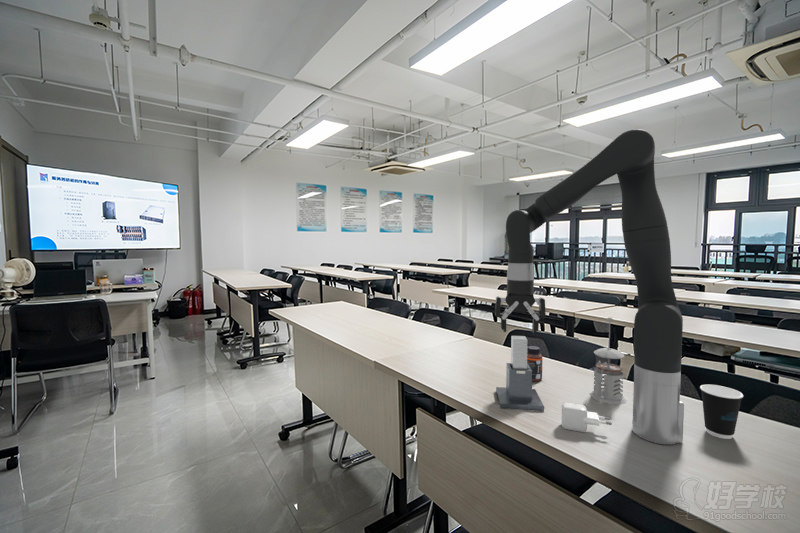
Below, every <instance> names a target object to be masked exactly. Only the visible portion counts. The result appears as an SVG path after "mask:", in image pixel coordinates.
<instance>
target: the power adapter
mask: <svg viewBox="0 0 800 533" xmlns="http://www.w3.org/2000/svg"><path fill="white" fill-rule="evenodd" d="M600 424H603V425H608V426H612V424H613V422H611V418H610V417H607V416H602V415H599V414H598V412H594V411H588V409H587V406H585V405H583V404H577V403H572V402H571V403H570V402H563V403H562V404H561V426H562V428H563V429H564V430H569V431H573V432H582V433H585V432H587V430H588V425H592V426H597V427H599V426H600Z"/></svg>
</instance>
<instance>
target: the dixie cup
mask: <svg viewBox="0 0 800 533" xmlns="http://www.w3.org/2000/svg"><path fill="white" fill-rule="evenodd" d="M699 389H700V390H701V400H702V407H703V408H702V410H703V420H704V427H705V430H706V433H708V434H709V435H710V436H713V437H716V438H719V439H723V440H730V439H732V438H733V435H735V433H736V432H735V431H736V426H737V421H738V418H739V417H738V416H739V413H740V408H741V402H742V399H743V398H744V394H743V393H742V392H741V391H739V390H737V389H734V388H731V387H726V386H722V385H718V384H701V385H700V386H699Z"/></svg>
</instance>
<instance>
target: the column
mask: <svg viewBox="0 0 800 533" xmlns="http://www.w3.org/2000/svg"><path fill="white" fill-rule="evenodd" d="M510 338H511V340H510V342H511V343H510V346H511V347H510V351H511V352H510V353H511V354H510V363H511V369H516V370H527V352H528V351H527V350H528V339H527V337H526V336H525V335H511V337H510Z"/></svg>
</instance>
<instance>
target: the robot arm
mask: <svg viewBox="0 0 800 533" xmlns="http://www.w3.org/2000/svg"><path fill="white" fill-rule="evenodd" d="M655 145H656V144H655V140H654V136H653V135H652V134H650V133H649V132H648V131H647V130H645V129H642V128H641V129H639V128H634V129H630V130H629V129H628V130H626V131H624V132H623V133H621V134H620V135H618V136H617V137H616V138H615V139H613V141H611V142H610V143H609V144H608V145H607V146H606V147H605V148H604V149H602V150H601V151H600V152H599V153H598V154H597V155H595V156H594V157H593V158H592V159H590V161H588V162H587V163H586V164H584V165H583V166H582V167H580V168H579V169H578V170H576V171H575V172H573V173H572V174H570V175H569V176H568V177H566V178H565V179H564V180H562V181H560V182H559V183H557V184H556V185H554V186H552V187H551V188H549V189H548V190H546V191H545V192H544V193H543V194H541V195H539V196H538V197H537V198H536V199H535V201H534V203H532V204H531V205H529V206H528V207H527V208H525V209H515V210H514V211H511V212H510V213H509V214H508V216H507V218H506V222H505V233H506V234H505V235H506V239H507V241H506V242H507V245H508V252H507V253H508V256H507V257H508V258H507V260H508V263H507V272H506V297H501V296H496V297H495V308H494V315H495V317H496V318H499V319H500V329H501V330H503V331H502V332H503V333H505V332H507V318H508V316H509V315H510V314H511V313H512V312H514V313H519V312H520V313H525V314H526V313H527V312H528V313H529V314H530V315H531V317H532V318H533V319H532V324H531V325H532V326H531V327H532V333H533V334H536V333H537V332H538V331H539V321H540V320H544V319H546V316H547V315H546V314H547V313H546V300H545V298H544V297H538V298H535V296H534V293H535V292H534V290H535V288H534V285H535V282H534V281H535V267H534V247H533V245H532V243H531V234H532V233H533V232H535V231H536V230H537V229H539V228H540V227H541V226H543V225H544V224H545V223H547V222H548V221H549V220H550V219H552V218H554V217H555V216H557V215H559V214H560V213H562V212H563V211H566V210H567V209H569V208H570V207H572V206H573V205H575V204H576V203H577V202H578V201H580V200H581V199H582V198H583V197H584V196H586V195H587V194H588V193H589V192H591V191H592V190H594V188H596V187H597V186H599V185H600V184H601V183H603V182H605V181H606V180H607V179H610V178H611V177H613V176H615V175H616V176H617V178H618V184H619V187H620V191H621V230H622V237H623V244H624V248H625V252H626V256H627V259H628V262H629V266H630V268H631V270H632V273H633V275H634V279H635V282H636V283H635V284H636V288H637V312H636V313H635V316H634V319H633V320H634V322H633V325H634V326H633V356H634V366H633V394H632V395H633V399H632V402H633V403H632V422H631V424H632V426H631V427H632V428H631V430H632V431H633V433H634V434H635V435H636V436H638V437H640V438H641V439H643V440H646V441H648V442H651V443H655V444H659V445H668V446H669V445H675V444H678V443H683V442H684V440H683V439H684V418H685V417H684V416H685V404H684V402H682V401H681V400H680V399H681V380H682V379H681V377H682V376H681V374H682V373H681V372H682V349H683V326H684V323H683V320H684V319H683V314H682V312H681V309H680V307H679V303H678V300H677V297H676V293H675V289H674V285H673V280H672V253H671V252H672V251H671V239H670V234H669V233H670V232H669V227H668V221H667V218H666V214H665V209H664V207H663V204H662V201H661V199H660V196H659V194H658V191H657V185H656V176H655V175H656V174H655V152H656V150H655V149H656V146H655ZM504 302H505V303H506V304H507V306H506V308H505V309H504V311H503V312H502V313H501V305H503V304H504ZM535 303H536V305H537V306H538V308H539V310H538V311H539V314H537V313H536V311H535V310H534V309H533V308H532V307H533V306H534V304H535Z"/></svg>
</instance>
